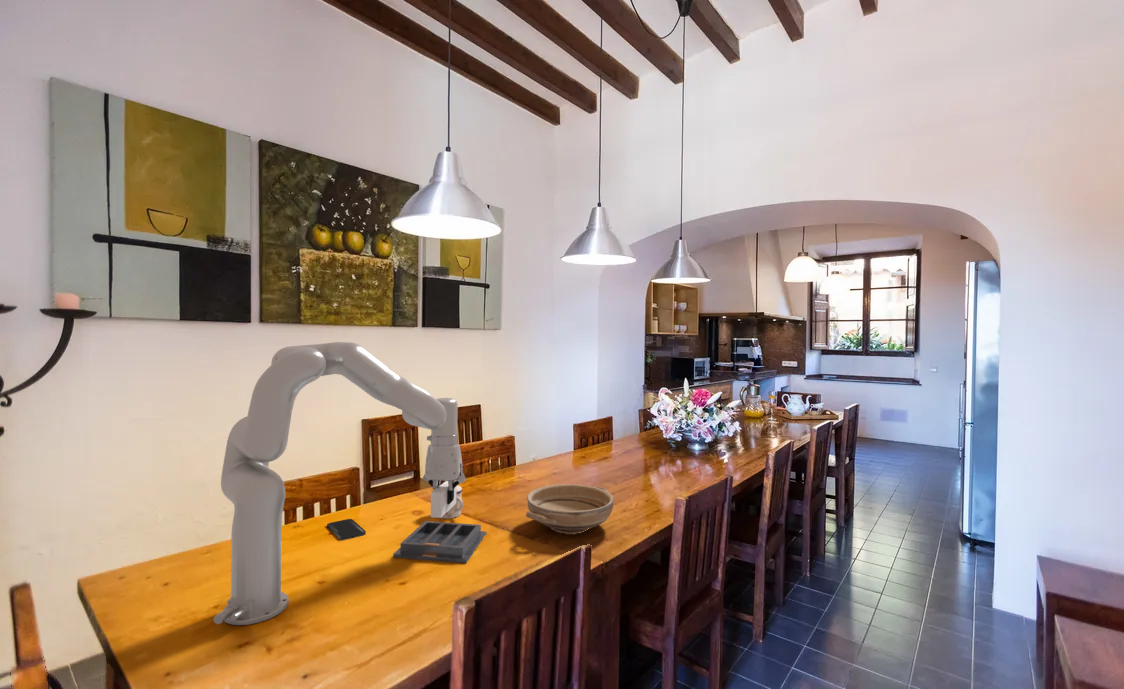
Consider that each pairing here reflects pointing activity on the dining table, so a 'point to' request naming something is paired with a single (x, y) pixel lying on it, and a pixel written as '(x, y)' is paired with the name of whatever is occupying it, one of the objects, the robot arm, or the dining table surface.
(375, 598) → the dining table surface
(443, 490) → the panel
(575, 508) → the ceramic bowl
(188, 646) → the dining table surface
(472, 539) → the rack
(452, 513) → the teacup with lid
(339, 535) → the phone
